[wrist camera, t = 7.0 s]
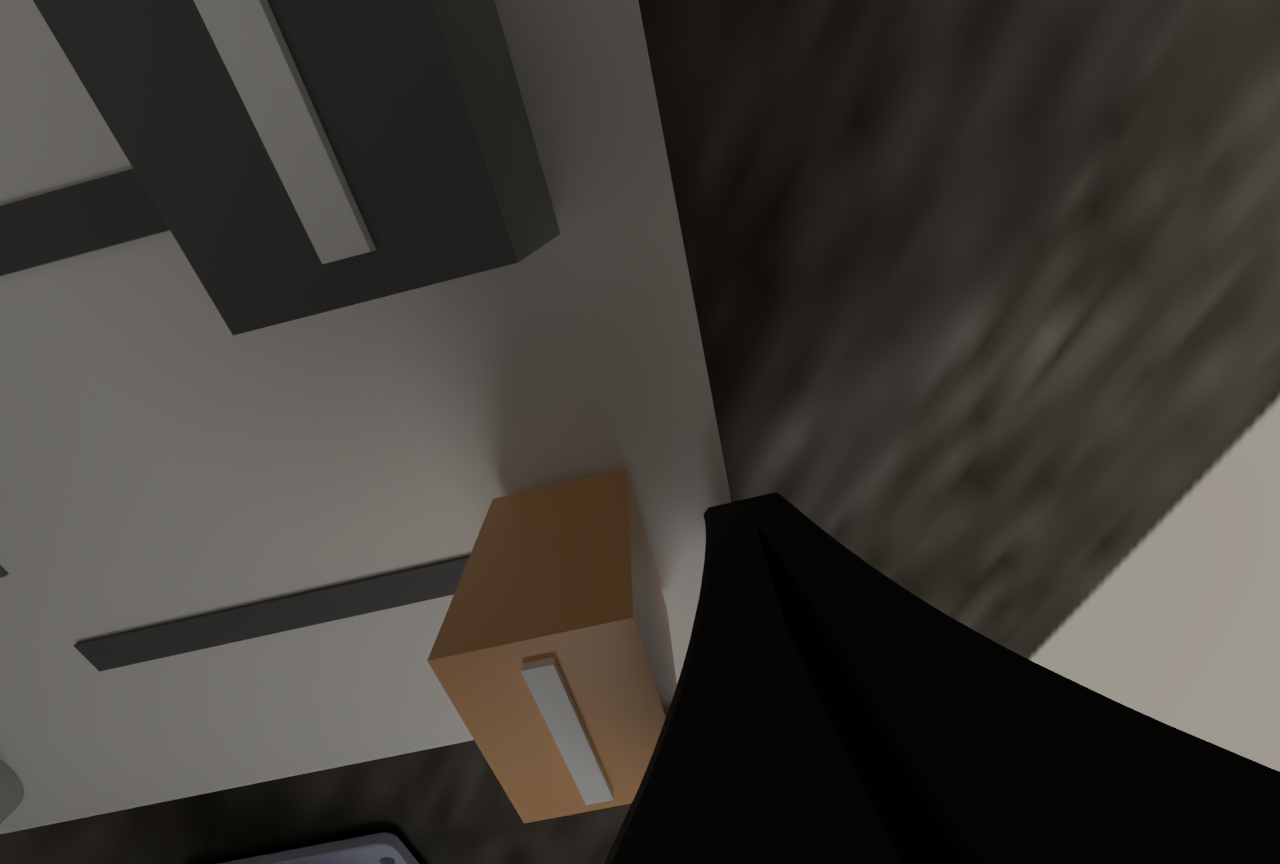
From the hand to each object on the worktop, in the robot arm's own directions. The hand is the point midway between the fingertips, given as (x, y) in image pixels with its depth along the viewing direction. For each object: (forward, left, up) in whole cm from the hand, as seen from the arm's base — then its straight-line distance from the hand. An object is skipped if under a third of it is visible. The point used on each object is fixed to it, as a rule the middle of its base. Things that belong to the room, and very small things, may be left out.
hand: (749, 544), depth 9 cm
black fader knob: (+8, +3, -1) cm, 8 cm away
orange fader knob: (0, +3, -1) cm, 3 cm away
